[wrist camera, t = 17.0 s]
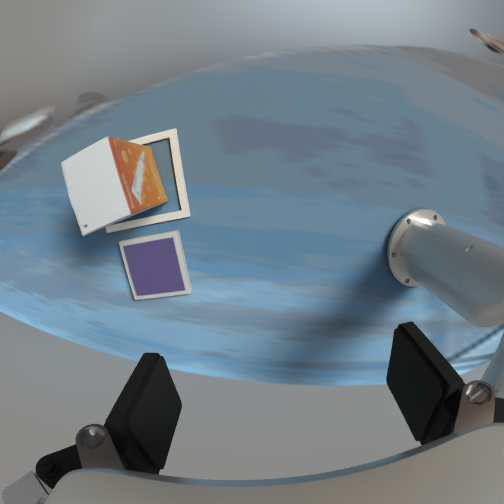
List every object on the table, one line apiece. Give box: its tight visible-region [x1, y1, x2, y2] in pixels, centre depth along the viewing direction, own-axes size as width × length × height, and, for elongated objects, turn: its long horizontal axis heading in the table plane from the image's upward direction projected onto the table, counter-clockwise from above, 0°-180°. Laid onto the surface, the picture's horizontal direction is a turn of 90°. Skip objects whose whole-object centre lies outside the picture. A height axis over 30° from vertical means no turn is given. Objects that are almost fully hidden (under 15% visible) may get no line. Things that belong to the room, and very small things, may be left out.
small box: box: [61, 137, 168, 236], centre depth 28 cm, size 8×6×13 cm
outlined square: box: [105, 128, 191, 233], centre depth 34 cm, size 13×12×1 cm
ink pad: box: [119, 230, 192, 300], centre depth 37 cm, size 9×9×1 cm
